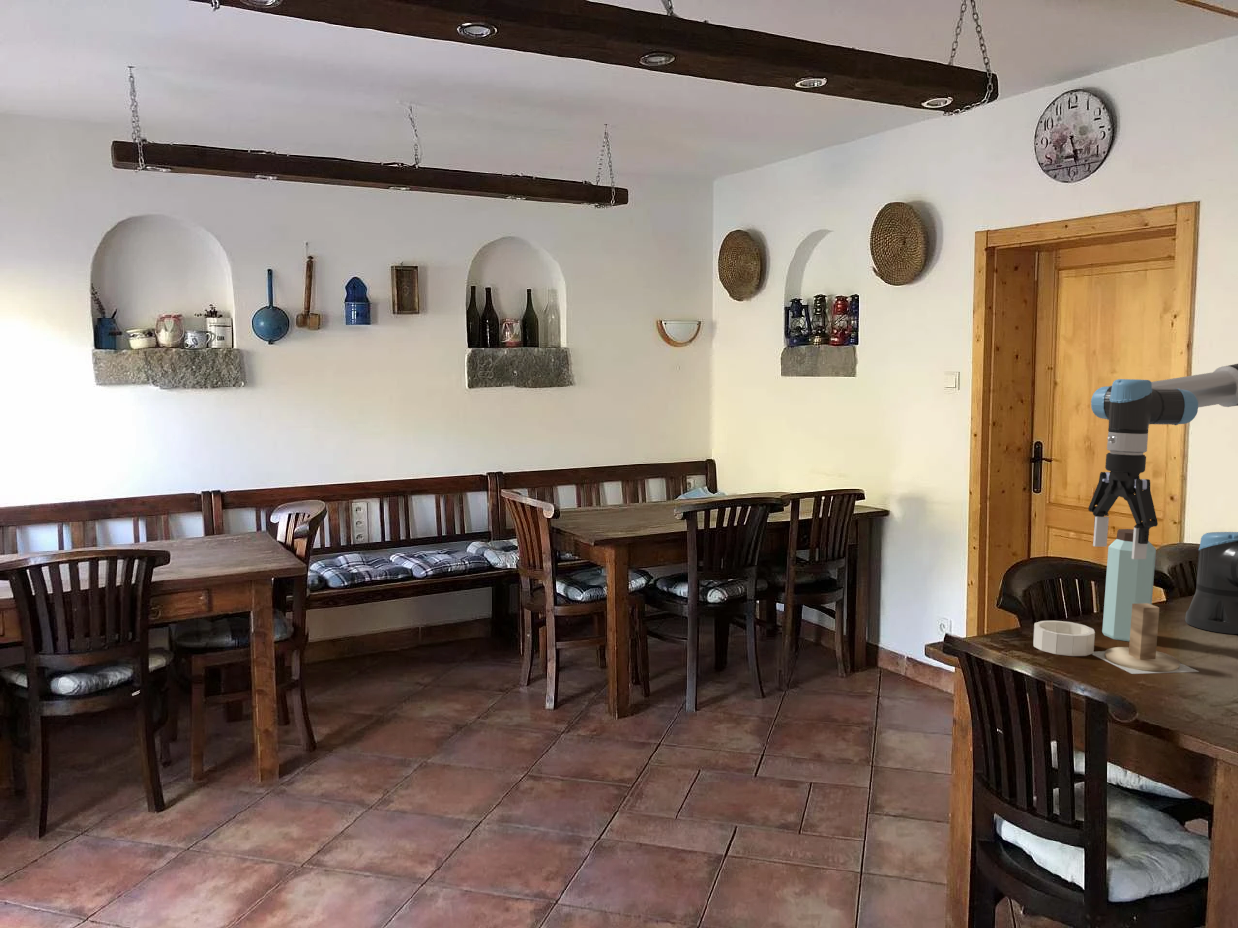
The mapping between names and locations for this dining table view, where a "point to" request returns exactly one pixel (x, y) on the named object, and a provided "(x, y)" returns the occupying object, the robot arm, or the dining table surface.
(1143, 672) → the mat
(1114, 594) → the water bottle
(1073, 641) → the bowl
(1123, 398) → the robot arm
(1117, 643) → the dining table surface
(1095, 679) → the dining table surface
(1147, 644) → the wooden post on disc
